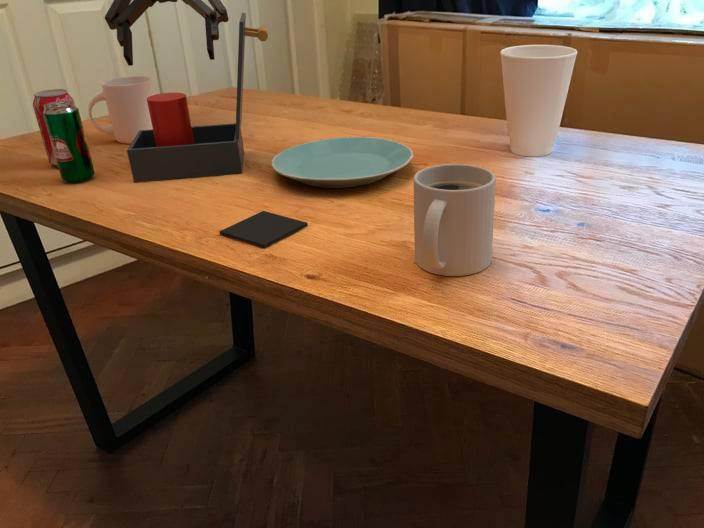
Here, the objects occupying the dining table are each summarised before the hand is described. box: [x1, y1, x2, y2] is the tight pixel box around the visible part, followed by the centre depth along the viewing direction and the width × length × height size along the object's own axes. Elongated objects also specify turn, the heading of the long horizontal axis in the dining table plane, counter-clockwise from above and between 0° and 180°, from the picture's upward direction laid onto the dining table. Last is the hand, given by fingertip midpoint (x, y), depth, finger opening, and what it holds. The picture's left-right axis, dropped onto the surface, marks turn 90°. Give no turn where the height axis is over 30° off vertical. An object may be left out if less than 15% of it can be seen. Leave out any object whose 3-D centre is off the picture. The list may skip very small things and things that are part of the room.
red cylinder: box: [147, 92, 195, 147], centre depth 107 cm, size 6×6×11 cm
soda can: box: [43, 101, 96, 184], centre depth 103 cm, size 5×5×12 cm
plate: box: [270, 136, 414, 189], centre depth 104 cm, size 22×22×3 cm
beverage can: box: [32, 88, 76, 167], centre depth 111 cm, size 6×6×12 cm
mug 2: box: [413, 163, 497, 277], centre depth 73 cm, size 11×10×10 cm
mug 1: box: [87, 75, 155, 145], centre depth 123 cm, size 9×12×11 cm
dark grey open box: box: [126, 122, 245, 183], centre depth 108 cm, size 17×12×5 cm
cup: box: [499, 44, 578, 158], centre depth 107 cm, size 12×12×16 cm
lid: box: [235, 12, 269, 139], centre depth 104 cm, size 17×12×4 cm
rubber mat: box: [219, 210, 308, 249], centre depth 85 cm, size 8×8×1 cm
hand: (169, 58), depth 111 cm, fingers open, 13 cm apart
